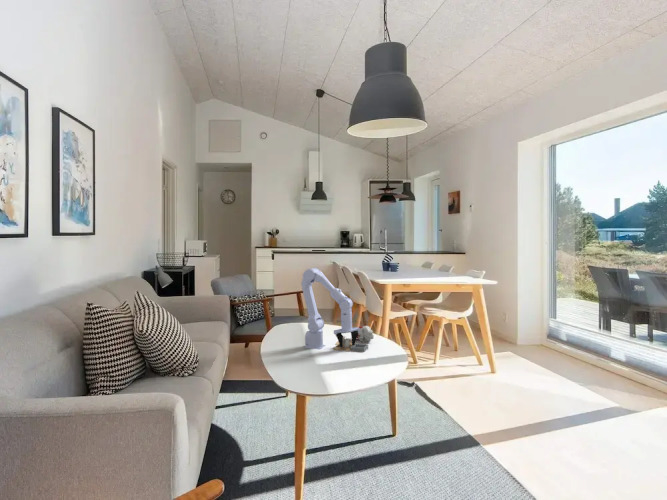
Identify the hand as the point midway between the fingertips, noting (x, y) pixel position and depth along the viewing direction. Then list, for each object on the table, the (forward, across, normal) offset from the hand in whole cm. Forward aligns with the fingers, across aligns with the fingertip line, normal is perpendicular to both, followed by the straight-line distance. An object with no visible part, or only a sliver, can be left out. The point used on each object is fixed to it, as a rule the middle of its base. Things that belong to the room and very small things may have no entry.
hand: (347, 346), depth 232 cm
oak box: (+2, 0, +3) cm, 3 cm away
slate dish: (+2, +6, -3) cm, 7 cm away
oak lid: (+2, +4, +12) cm, 13 cm away
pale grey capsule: (+2, 0, 0) cm, 2 cm away
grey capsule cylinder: (+2, 0, +5) cm, 5 cm away
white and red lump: (+3, +16, +14) cm, 21 cm away
